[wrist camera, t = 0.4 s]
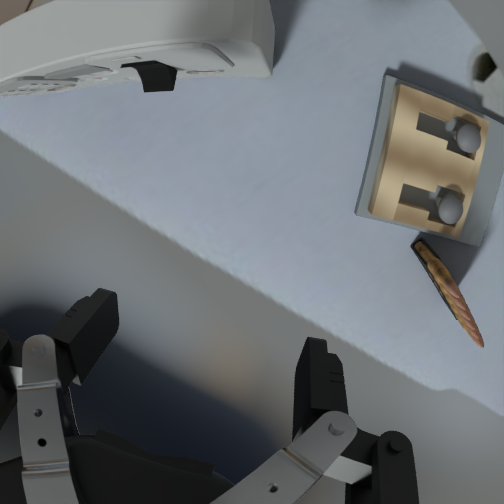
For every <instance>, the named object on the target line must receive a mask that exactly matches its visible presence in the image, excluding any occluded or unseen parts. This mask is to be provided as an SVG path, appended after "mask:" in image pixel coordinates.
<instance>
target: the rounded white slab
mask: <svg viewBox="0 0 504 504" xmlns="http://www.w3.org/2000/svg"><path fill="white" fill-rule="evenodd" d="M274 41H275V26H274V21H273V16H272V11H271V6H270V1H269V0H52V1H50V2H47V3H45V4H43V5H40V6H38V7H36V8H34V9H32V10H29V11H27V12H25V13H23V14H21V15H19V16H17V17H15V18H13V19H11V20H9V21H7V22H5V23H3V24H2V25H0V97H3V96H15V95H32V94H51V93H61V92H67V91H73V90H78V89H84V88H90V87H96V86H103V85H110V84H118V83H127V82H136V81H142V85H143V89H144V92H158V91H173V90H174V85H175V80H176V79H177V78H269V77H271V76H272V71H273V56H274Z"/></svg>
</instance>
